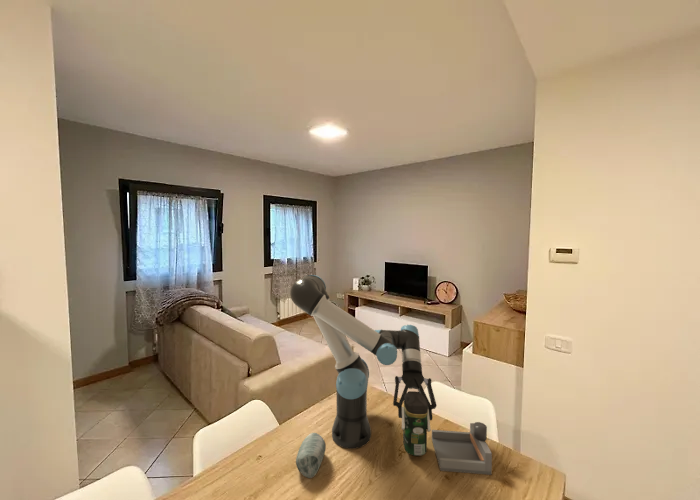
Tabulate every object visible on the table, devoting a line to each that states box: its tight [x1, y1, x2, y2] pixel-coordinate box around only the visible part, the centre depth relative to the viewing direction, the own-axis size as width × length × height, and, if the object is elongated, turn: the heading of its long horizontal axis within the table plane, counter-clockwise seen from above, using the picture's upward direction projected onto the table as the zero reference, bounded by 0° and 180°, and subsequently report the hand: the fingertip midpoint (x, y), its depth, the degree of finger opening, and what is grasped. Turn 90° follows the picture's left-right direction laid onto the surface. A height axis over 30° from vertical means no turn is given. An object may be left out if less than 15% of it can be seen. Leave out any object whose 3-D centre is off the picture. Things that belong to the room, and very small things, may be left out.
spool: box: [295, 432, 327, 479], centre depth 94 cm, size 14×10×10 cm
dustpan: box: [431, 421, 493, 476], centre depth 98 cm, size 17×15×11 cm
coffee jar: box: [402, 390, 428, 457], centre depth 100 cm, size 10×8×19 cm
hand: (416, 429), depth 96 cm, fingers closed on coffee jar, 8 cm apart
